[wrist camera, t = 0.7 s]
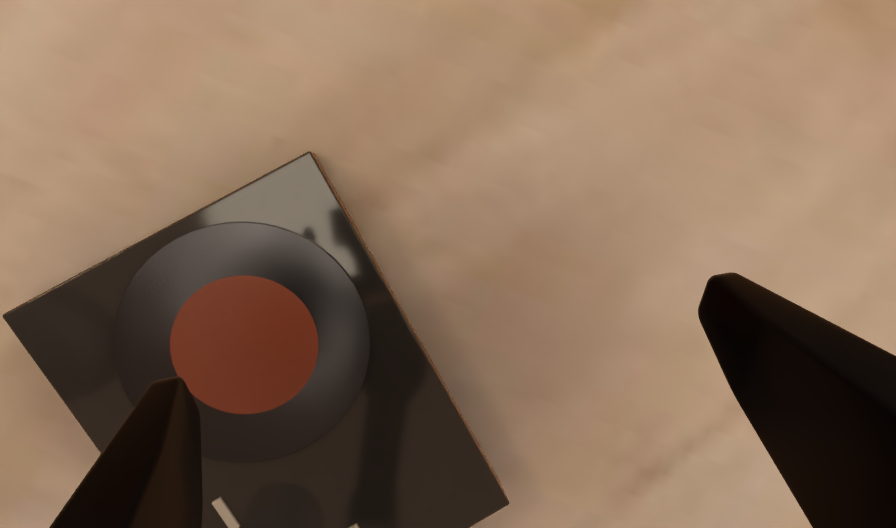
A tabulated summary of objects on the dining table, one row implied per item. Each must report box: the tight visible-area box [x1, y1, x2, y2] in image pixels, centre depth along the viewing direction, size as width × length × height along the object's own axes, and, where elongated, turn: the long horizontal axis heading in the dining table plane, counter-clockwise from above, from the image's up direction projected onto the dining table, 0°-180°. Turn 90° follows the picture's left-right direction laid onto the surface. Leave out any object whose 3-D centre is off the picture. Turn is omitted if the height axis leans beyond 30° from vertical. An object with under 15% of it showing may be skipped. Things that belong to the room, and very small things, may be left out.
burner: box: [113, 222, 370, 463], centre depth 22 cm, size 9×9×1 cm
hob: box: [3, 152, 509, 528], centre depth 24 cm, size 17×13×2 cm
